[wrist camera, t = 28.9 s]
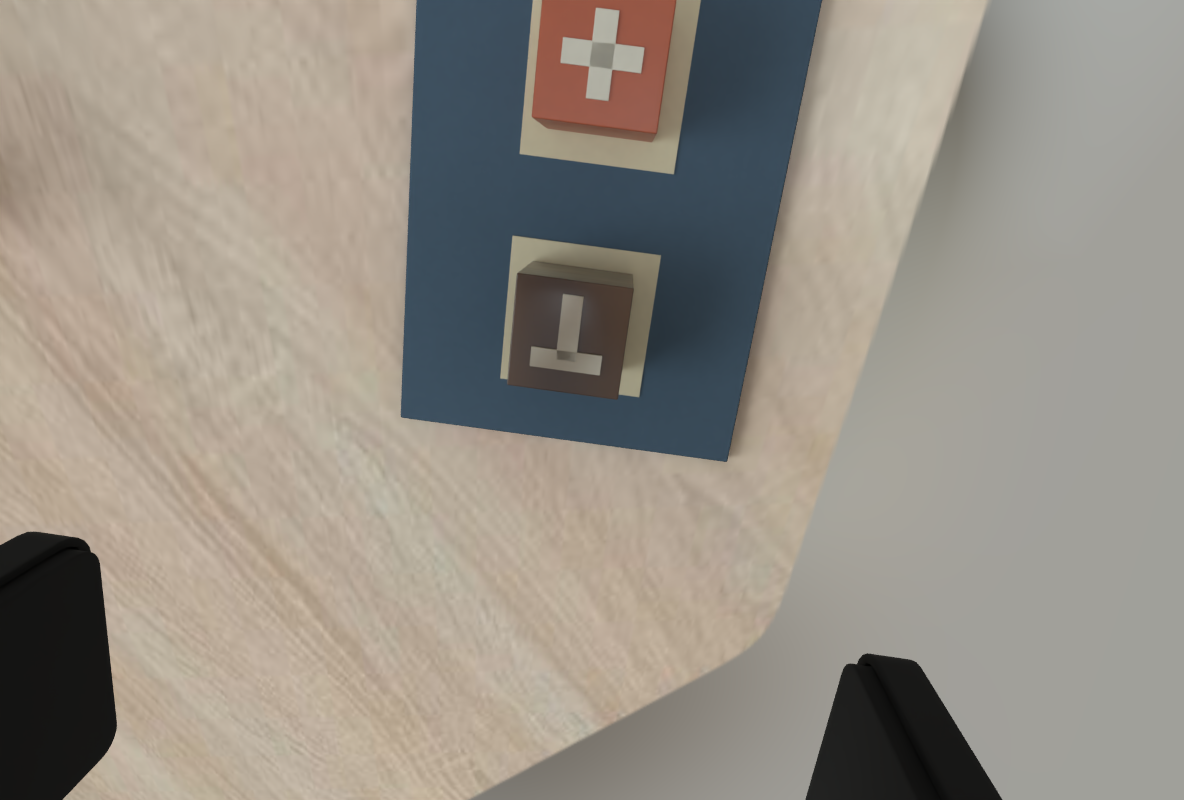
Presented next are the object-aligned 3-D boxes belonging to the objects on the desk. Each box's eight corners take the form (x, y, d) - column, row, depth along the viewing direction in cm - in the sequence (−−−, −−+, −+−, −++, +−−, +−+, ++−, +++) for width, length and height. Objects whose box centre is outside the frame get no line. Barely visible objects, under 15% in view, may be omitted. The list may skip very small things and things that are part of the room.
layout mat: (831, -60, 26) (836, -67, 25) (725, 457, 32) (727, 463, 32) (425, -113, 26) (419, -120, 25) (404, 413, 33) (399, 418, 32)
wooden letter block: (633, 273, 29) (634, 289, 25) (619, 370, 31) (617, 401, 26) (532, 260, 29) (516, 272, 25) (523, 357, 31) (506, 385, 26)
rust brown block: (670, 22, 26) (678, -12, 22) (652, 142, 28) (657, 134, 23) (557, 7, 26) (543, -29, 22) (545, 128, 28) (530, 117, 23)
